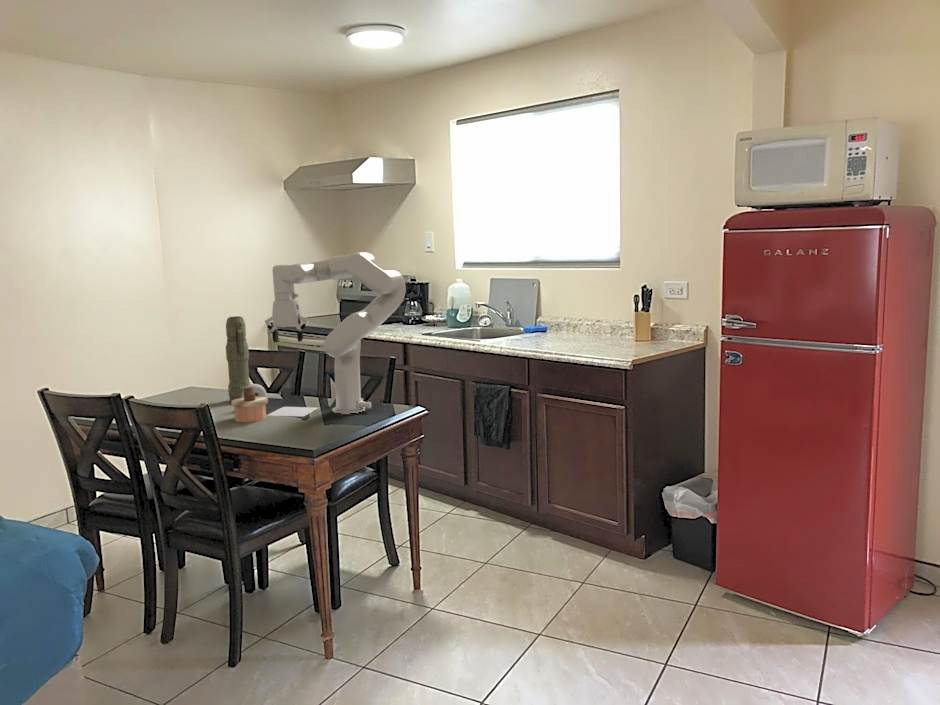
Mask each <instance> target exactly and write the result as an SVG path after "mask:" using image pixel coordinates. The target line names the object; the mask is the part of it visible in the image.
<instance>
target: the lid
mask: <svg viewBox="0 0 940 705" xmlns="http://www.w3.org/2000/svg"><path fill="white" fill-rule="evenodd" d="M243 391H244V397H243V398H238V399H234V400H232V401H231V406H232V407H233V408H234V407H255V406H261V405H264V404H266V405H267V404H268V403H269V398H268V397H267V398H266V397H258V396H256V392H255V388H254V387H247V388H243Z"/></svg>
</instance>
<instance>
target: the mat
mask: <svg viewBox="0 0 940 705" xmlns="http://www.w3.org/2000/svg"><path fill="white" fill-rule="evenodd" d="M318 409H319V407H315V406H313V407H310V406H309V407H308V406H305V407H304V406H283V407H280V408H278V409H276V410H274V411H272V412H269V413H267V414H266V417H267V416H268V417H269V416H270V417H272V416H273V417H299V418H300V417H305V416H307V415H309V414H311V413H313V412H315V411H316V410H318ZM314 410H315V411H314Z"/></svg>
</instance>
